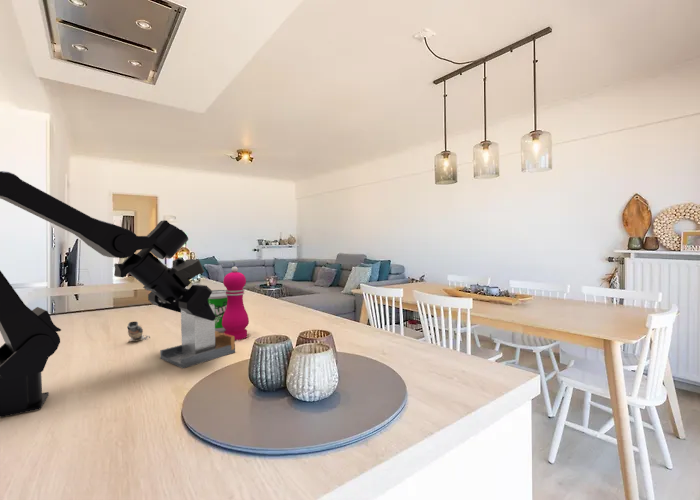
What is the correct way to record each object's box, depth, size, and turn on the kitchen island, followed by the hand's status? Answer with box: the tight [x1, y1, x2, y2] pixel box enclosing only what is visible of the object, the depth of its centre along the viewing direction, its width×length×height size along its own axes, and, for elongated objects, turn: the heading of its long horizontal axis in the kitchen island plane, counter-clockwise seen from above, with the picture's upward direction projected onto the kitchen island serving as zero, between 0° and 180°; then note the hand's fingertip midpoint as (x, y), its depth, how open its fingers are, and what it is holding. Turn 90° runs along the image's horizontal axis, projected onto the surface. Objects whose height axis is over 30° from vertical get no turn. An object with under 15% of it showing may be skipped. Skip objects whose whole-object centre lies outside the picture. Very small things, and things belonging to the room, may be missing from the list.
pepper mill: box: [222, 266, 250, 341], centre depth 97 cm, size 7×7×20 cm
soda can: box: [208, 289, 227, 333], centre depth 105 cm, size 8×8×12 cm
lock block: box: [180, 305, 215, 356], centre depth 82 cm, size 5×6×11 cm
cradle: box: [159, 331, 236, 369], centre depth 83 cm, size 13×10×4 cm
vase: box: [127, 321, 151, 342], centre depth 94 cm, size 5×5×6 cm
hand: (203, 316), depth 83 cm, fingers open, 9 cm apart
